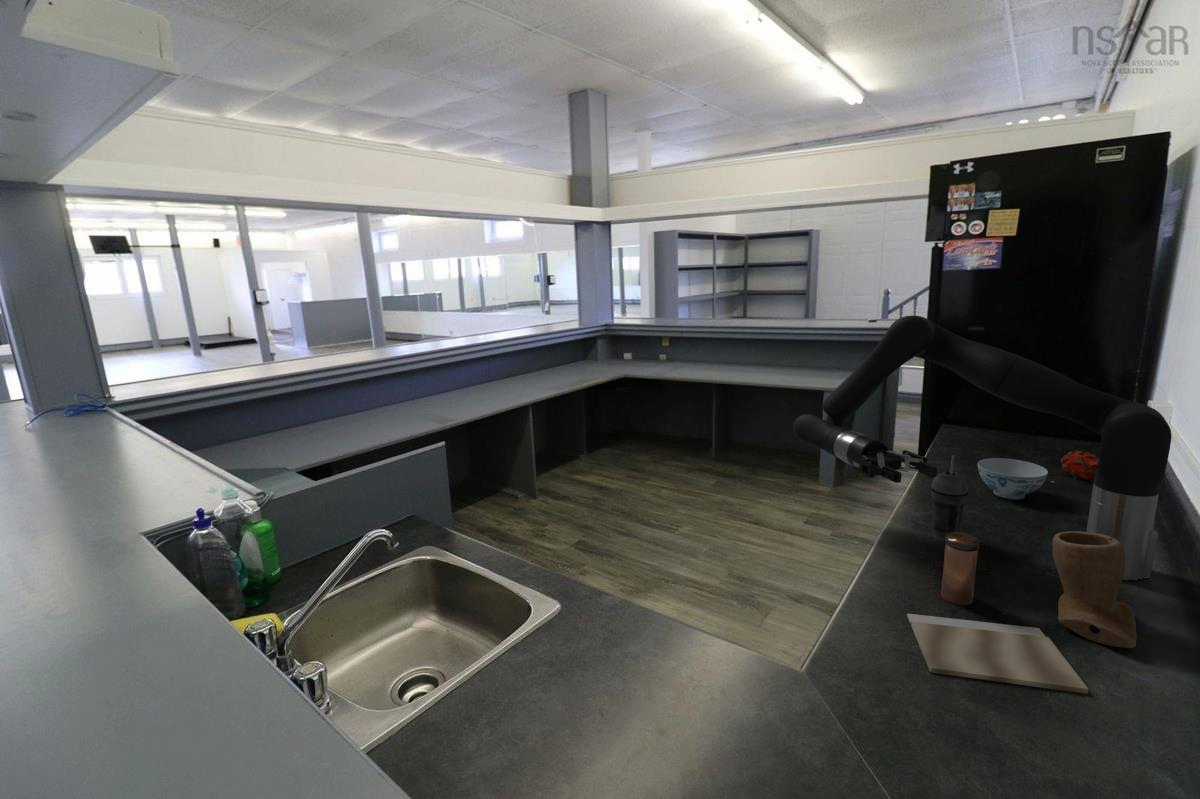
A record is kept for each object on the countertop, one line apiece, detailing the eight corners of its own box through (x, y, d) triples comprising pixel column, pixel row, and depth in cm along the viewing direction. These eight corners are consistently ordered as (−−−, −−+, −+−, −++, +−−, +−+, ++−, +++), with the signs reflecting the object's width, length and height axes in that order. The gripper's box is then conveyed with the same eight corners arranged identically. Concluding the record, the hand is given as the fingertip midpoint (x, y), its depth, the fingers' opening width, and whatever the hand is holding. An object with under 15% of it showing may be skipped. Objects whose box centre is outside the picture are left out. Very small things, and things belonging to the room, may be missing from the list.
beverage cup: (961, 533, 128) (969, 450, 124) (966, 547, 122) (975, 460, 118) (925, 528, 132) (931, 447, 127) (928, 542, 125) (935, 457, 121)
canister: (967, 591, 106) (973, 533, 103) (977, 607, 101) (984, 546, 98) (936, 588, 107) (942, 531, 105) (945, 603, 102) (950, 543, 100)
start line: (1038, 629, 94) (1039, 628, 94) (1045, 638, 92) (1045, 636, 91) (906, 615, 99) (907, 613, 99) (910, 622, 97) (910, 621, 97)
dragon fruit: (1055, 476, 163) (1106, 494, 153) (1051, 466, 157) (1104, 484, 148) (1069, 452, 163) (1121, 467, 154) (1065, 440, 158) (1119, 456, 149)
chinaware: (982, 502, 144) (985, 474, 143) (969, 482, 158) (971, 456, 156) (1053, 508, 139) (1057, 479, 137) (1033, 487, 152) (1037, 460, 151)
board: (1047, 641, 91) (1048, 637, 91) (1087, 693, 80) (1088, 689, 79) (911, 625, 96) (911, 621, 96) (930, 672, 85) (930, 667, 85)
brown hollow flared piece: (1047, 590, 105) (1057, 516, 102) (1134, 613, 97) (1148, 534, 94) (1037, 629, 94) (1048, 547, 91) (1134, 658, 86) (1150, 570, 83)
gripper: (834, 438, 122) (889, 461, 107) (887, 431, 126) (948, 453, 111) (831, 470, 124) (886, 498, 109) (884, 462, 128) (944, 488, 112)
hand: (917, 475), depth 110 cm, fingers open, 8 cm apart
